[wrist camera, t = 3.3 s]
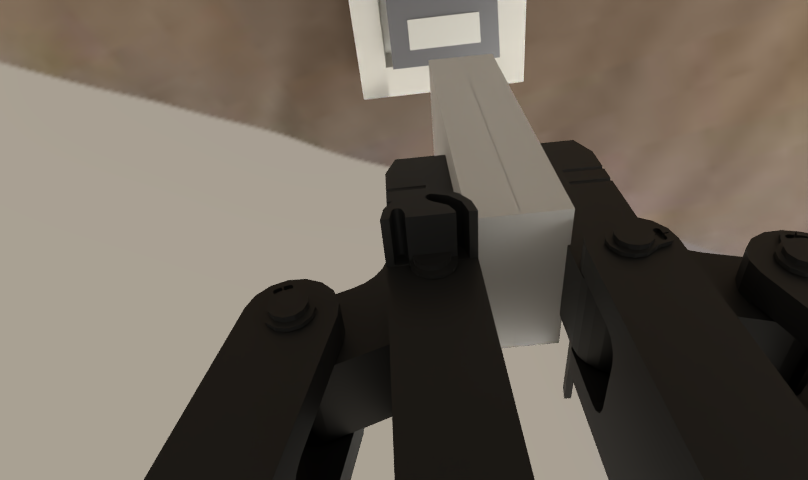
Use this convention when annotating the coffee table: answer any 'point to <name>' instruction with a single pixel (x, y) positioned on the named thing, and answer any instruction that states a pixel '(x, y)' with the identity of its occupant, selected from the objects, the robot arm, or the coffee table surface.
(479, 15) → the rocker
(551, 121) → the coffee table surface
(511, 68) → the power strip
